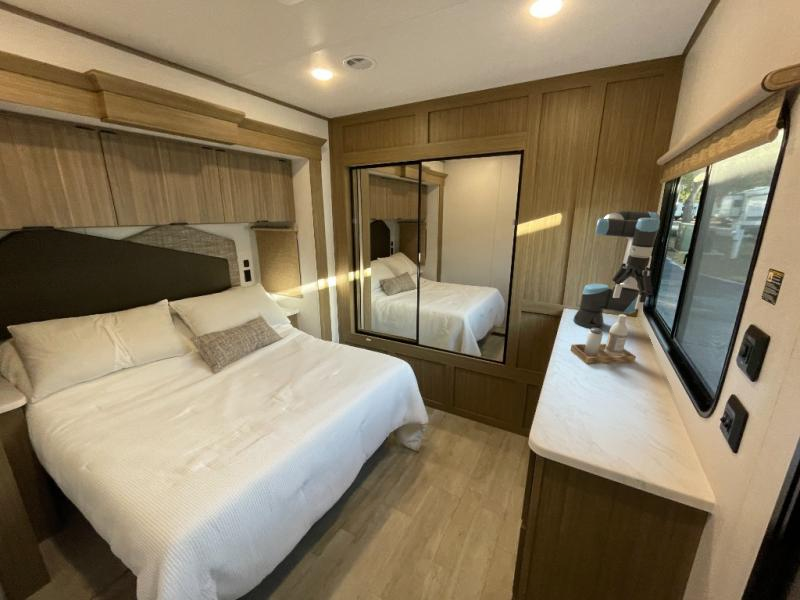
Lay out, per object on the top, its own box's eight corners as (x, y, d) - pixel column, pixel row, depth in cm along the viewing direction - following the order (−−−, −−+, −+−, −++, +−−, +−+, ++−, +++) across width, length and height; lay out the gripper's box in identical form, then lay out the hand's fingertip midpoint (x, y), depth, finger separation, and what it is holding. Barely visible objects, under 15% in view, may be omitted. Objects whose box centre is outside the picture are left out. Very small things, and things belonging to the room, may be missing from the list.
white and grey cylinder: (587, 351, 156) (593, 326, 151) (599, 356, 151) (606, 330, 147) (581, 354, 153) (587, 328, 148) (593, 359, 148) (599, 333, 144)
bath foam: (603, 349, 157) (613, 311, 151) (620, 352, 155) (630, 314, 148) (604, 356, 152) (614, 316, 145) (622, 359, 149) (633, 319, 142)
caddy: (614, 349, 160) (616, 343, 158) (634, 362, 148) (635, 356, 147) (570, 350, 158) (571, 344, 157) (586, 364, 146) (587, 357, 145)
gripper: (610, 249, 148) (600, 293, 156) (654, 263, 125) (640, 314, 132) (626, 249, 149) (615, 293, 156) (673, 263, 125) (657, 313, 133)
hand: (626, 303), depth 144 cm, fingers open, 13 cm apart
